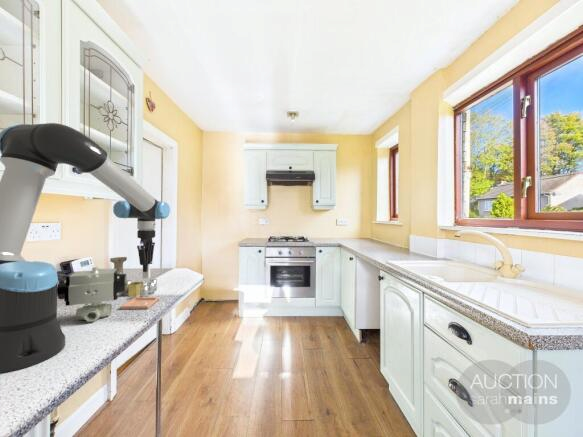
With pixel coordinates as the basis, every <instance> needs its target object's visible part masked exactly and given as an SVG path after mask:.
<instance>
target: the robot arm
mask: <svg viewBox="0 0 583 437" xmlns="http://www.w3.org/2000/svg"><path fill="white" fill-rule="evenodd" d="M0 154H1V155H0V163H1V164H2V165H3V166H4V170H3V173H2V175H1V178H0V374H1V373H8V372H13V371H17V370H22V369H25V368H28V367H30V366H33V365H36V364H39V363H42V362H45V361H46V360H48V359H50V358H52V357H54V356H56V355H58V354H59V353H61V351H62V350H64V348H65V347H66V336H65V333H64V332H63V331H62V327H61V325H60V324H59V321H58V296H57V287H58V283H59V277H58V271H57V267H56V266H55V265H53V264H52V263H49V262H44V261H37V260H36V261H29V260H26V259H25V258H24V257H23V256H22V254H21V253H22V251H23V247H24V245H25V241H26V239H27V236H28V233H29V230H30V228H31V223H32V222H33V218H34V215H35V213H36V209H37V206H38V204H39V200H40V198H41V194H42V192H43V188H44V185H45V182H46V179H47V178H49V177H52V176H54V175H55V174H56V172H57V168H58V165H60V164H63V165H64V164H65V165H69V166H72V167H74V168H76V169H78V170H79V171H80V172H82V173H84V174H90V175H91V176H93V177H94V178H96V179H97V180H98V181H100V183H102V184H103V185H105V186H106V187H108V188H109V189H110V190H111V191H113V192H114V193H115V194H117V195H119V196H120V198H123V199H124V200H118V201H116V202H115V203H114V204H113V207H112V213H113V214H114V216H115V217H116V218H119V219H137V225H136V226H137V232H136V236H137V239H140V240H139V241H140V242H139V245H137V246H136V249H137V251H138V252H137V253H138V260H139V265H140V266H142V279H149V278H151V265H153V260H154V259H153V257H154V250H155V249H154V248H155V244H156V242H153V239H154V238H155V237H156V230H155V229H156V225H157V223H156V220H162V219H164V220H165V219H167V218H169V216H170V214H171V207H170V205H169V203H168V202H166V201H162V200H160V201H158V200H157V199H156V198H155V197H154V196H152V195H151V194H150V192H148V191H147V190H146V189H145V188H143V187H142V186H141V185H140V184H139V183H137V181H135V180H134V179H133V178H132V177H131V176H130V175H129V174H127V172H126V171H124V170H123V169H122V168H120V167H119V165H118V164H116V163H115V162H114V161H113V160H112V159H110V157H109V153H108V152H107V151H106V150H105V149H104V148H103V147H101V145H99V144H98V143H97V142H96V141H94V140H92V139H91V138H90V137H89V136H87V135H86V134H84V133H82V132H80V131H79V130H77V129H75V128H73V127H70V126H68V125H66V124H62V123H56V122H47V123H35V124H33V123H31V124H30V123H20V124H16V125H12V126H8V127H6V128H4V129H3V130H1V131H0Z"/></svg>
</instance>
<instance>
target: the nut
mask: <svg viewBox="0 0 583 437" xmlns="http://www.w3.org/2000/svg"><path fill="white" fill-rule="evenodd" d="M141 286H144V281H133V282H132V281H131V283H129V285H128V293H127V294H128V297H139V296H140V287H141Z"/></svg>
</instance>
